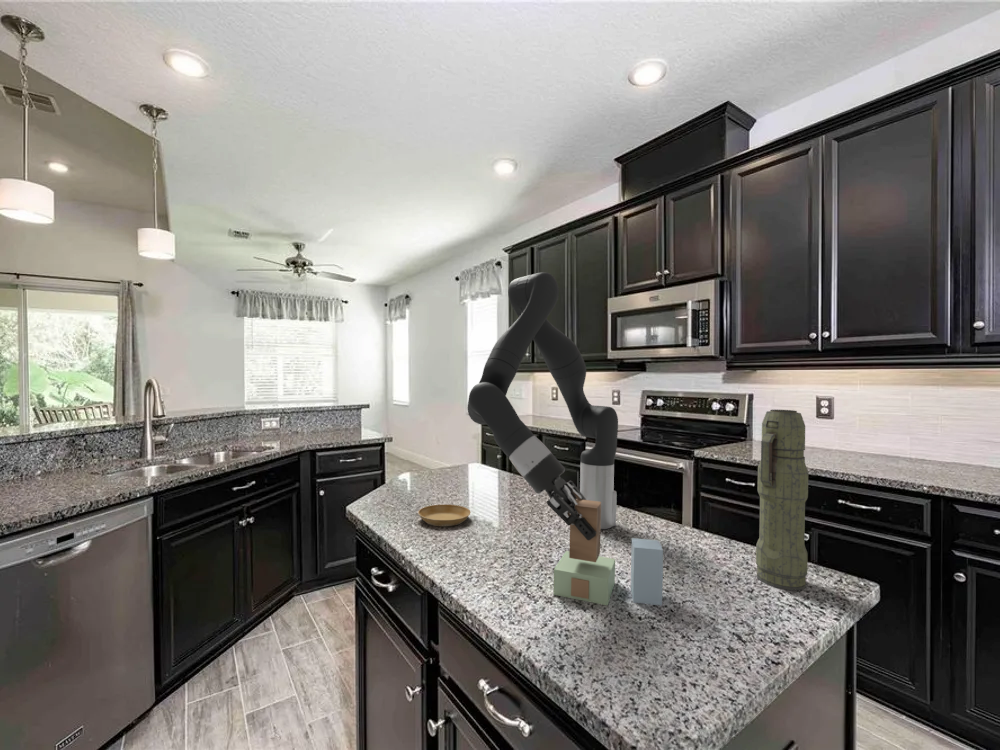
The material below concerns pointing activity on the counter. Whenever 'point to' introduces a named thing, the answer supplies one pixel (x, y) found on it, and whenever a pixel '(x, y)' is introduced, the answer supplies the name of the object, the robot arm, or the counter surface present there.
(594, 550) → the walnut block
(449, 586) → the counter surface
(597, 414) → the robot arm
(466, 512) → the plant saucer
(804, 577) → the thermos
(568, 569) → the base block
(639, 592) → the slate block
